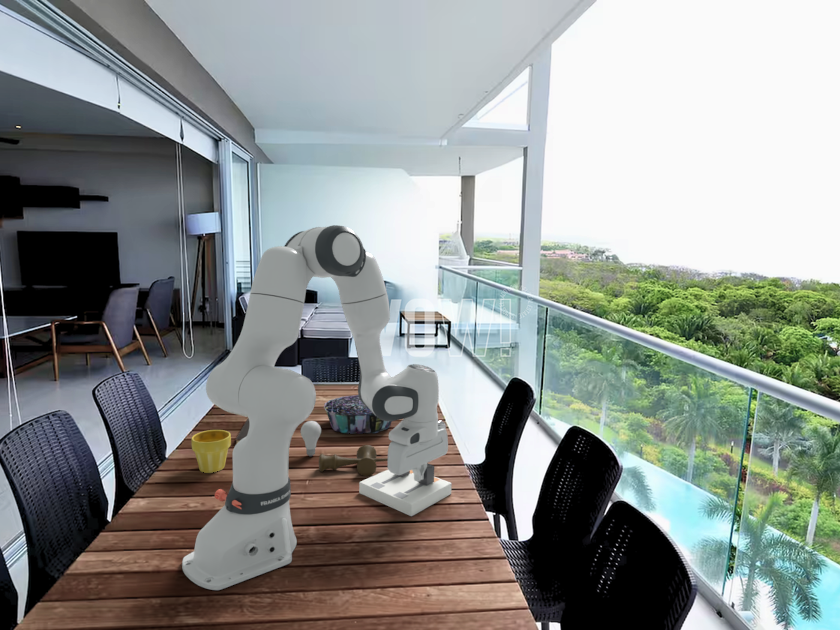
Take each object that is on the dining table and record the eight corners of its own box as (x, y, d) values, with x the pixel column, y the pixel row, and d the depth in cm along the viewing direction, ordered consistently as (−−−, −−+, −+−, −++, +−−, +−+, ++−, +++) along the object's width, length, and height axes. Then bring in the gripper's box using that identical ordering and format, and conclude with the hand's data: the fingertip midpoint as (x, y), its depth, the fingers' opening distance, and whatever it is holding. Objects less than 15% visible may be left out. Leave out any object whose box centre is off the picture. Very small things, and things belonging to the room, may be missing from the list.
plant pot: (211, 479, 140) (210, 444, 139) (184, 471, 145) (183, 438, 143) (239, 465, 150) (238, 433, 149) (212, 459, 154) (212, 427, 153)
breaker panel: (411, 516, 123) (411, 504, 122) (359, 493, 134) (359, 481, 134) (451, 493, 135) (451, 482, 135) (400, 474, 146) (400, 463, 146)
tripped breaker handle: (426, 485, 132) (427, 469, 132) (417, 482, 134) (418, 466, 134) (433, 481, 134) (434, 465, 134) (425, 478, 136) (425, 462, 136)
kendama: (320, 465, 153) (387, 462, 155) (317, 480, 143) (389, 476, 145) (320, 446, 152) (387, 443, 154) (317, 460, 142) (389, 456, 144)
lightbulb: (316, 460, 154) (316, 425, 153) (297, 458, 156) (297, 423, 154) (324, 453, 160) (324, 419, 159) (305, 451, 161) (305, 417, 160)
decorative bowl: (406, 438, 181) (409, 411, 180) (329, 441, 170) (331, 412, 169) (385, 416, 204) (387, 392, 203) (315, 418, 194) (317, 392, 193)
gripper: (435, 416, 140) (434, 464, 142) (383, 434, 125) (382, 489, 126) (454, 421, 136) (452, 471, 138) (403, 441, 121) (401, 497, 122)
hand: (418, 480), depth 132 cm, fingers closed
